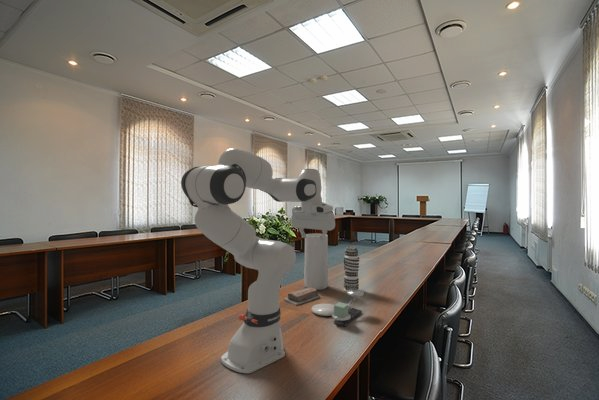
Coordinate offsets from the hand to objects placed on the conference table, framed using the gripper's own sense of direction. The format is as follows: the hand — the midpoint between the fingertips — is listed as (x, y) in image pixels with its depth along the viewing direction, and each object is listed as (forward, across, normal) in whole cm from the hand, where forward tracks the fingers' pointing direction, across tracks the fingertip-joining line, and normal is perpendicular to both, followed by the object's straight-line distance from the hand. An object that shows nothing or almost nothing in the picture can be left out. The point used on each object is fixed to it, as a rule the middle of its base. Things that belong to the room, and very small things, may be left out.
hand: (313, 238), depth 124 cm
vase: (+42, -24, +40) cm, 63 cm away
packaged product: (+40, -20, +18) cm, 48 cm away
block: (+33, +11, +3) cm, 35 cm away
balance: (+37, +11, +9) cm, 40 cm away
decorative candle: (+42, -4, +46) cm, 63 cm away
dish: (+38, -1, +10) cm, 39 cm away
